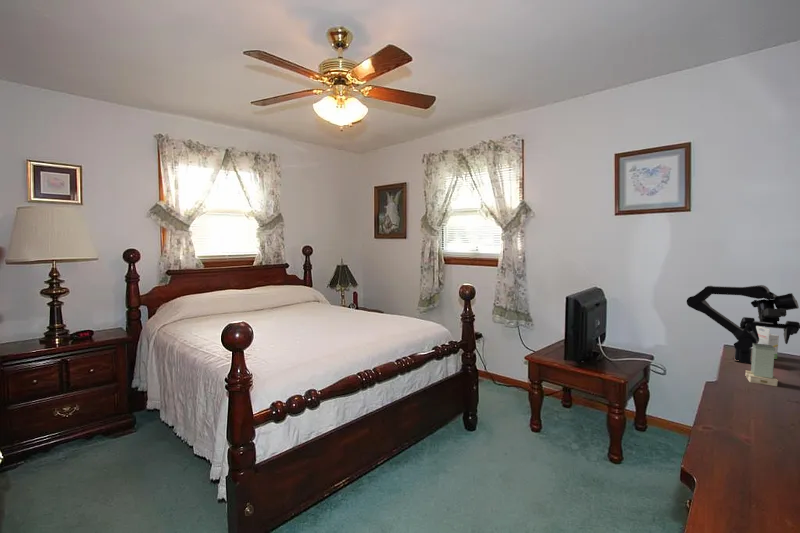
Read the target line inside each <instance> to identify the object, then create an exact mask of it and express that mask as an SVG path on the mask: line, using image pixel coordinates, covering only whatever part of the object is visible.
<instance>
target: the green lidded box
mask: <svg viewBox="0 0 800 533" xmlns="http://www.w3.org/2000/svg"><path fill="white" fill-rule="evenodd" d="M752 346H753V347H752V348H751V349H752V350H751V361H752V363H750V365H751V367H750V371H751V373H752V374H753V375H754V376H759V377H766V378H773V376H774V364H775V363H774V362H775V360H774V353H775V348H774V347H773V346H772V345H766V344H757V343H753V344H752Z"/></svg>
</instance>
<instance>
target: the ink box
mask: <svg viewBox="0 0 800 533" xmlns="http://www.w3.org/2000/svg"><path fill="white" fill-rule="evenodd" d="M756 329H757V333H758V336H759V342H758V343H757V344H766V345H772V346H773V347H774V348H775V353H774V359H777V360H778V350H779V341H780V340H779V338H780V335H778V334H773V333H771V329H770V328H769V327H762V326H756ZM761 329H762V330H761Z"/></svg>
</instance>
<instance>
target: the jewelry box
mask: <svg viewBox="0 0 800 533" xmlns="http://www.w3.org/2000/svg"><path fill="white" fill-rule="evenodd" d="M744 376H746V377H745V378H746V379H747V380H748V382H749V383H750V384H751V383H752V384H757V385H765V386H771V387H778V382H779V380H778V379H777V378H776V376H775V375H773V378H766V377H759V376H754V375H753V374H752V373H751V370H746V369H745V374H744Z"/></svg>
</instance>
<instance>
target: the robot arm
mask: <svg viewBox="0 0 800 533" xmlns="http://www.w3.org/2000/svg"><path fill="white" fill-rule="evenodd" d="M712 295H725V296H726V295H727V296H729V295H730V296H744V297H747V298H752V299H754V300H753V301H751V302H750V304H751V305H752V307H753V308H757V313H758V314H757V315H758V317H757V318H758V320H755V317H749V316H748V317H747V316H743V317H742V318H741V321H740V323H739V325H738V324H737V323H735V322H733V321H732V320H730V319H729V318H728V317H727V316H725V315H724V314H722V313H721V312H720V311H718V310H716V309H715V308H713V307H712V306H711V305H710V304H709V302H708V301H707V299H709V298H710V297H711V296H712ZM686 304H687V306H688V307H689V308H691V309H693V310H695V311H697V312H700V313H702V314H704V315H705V316H707V317H708V318H710V319H711V320H712V321H714V322H715V323H717V324H718V325H720V326H721V327H722V328H724V329H726V330H727V331H728V332H730V333H731V334H732V335H733V336H734V338H736V340H737V341H735V342H734V343H733V347H734V349H735V350H734V357H735V359H736V360H739V361H741V362H740V363H743V362H746V364H751V363H752V349H753V346H752V344H753V343H758V342H759V336H758V333H757V329H756V326H760V327H764V328H768V329H770V328H771V329H778V330H779V329H780V330H781V329H782V330H783V338H784V343H785V344H786V345H788V343H789V341H790V340H789V339H790V337H791V336H793V335H796V334H798V332H799V331H800V322H799V321H793V320H786V322H785V323H779V322H780V318H781V317H783V318H785V317H786V316H787V311H790V310H796V309H800V307H799V306H800V305H799V303H798V301H797V299H796V298H795V296H794V294H793V293H791V292H790V293H787V294H781V295H777V294H776V293H774V292H772V291H770V289H769V287H767V286H766V285H764V284H759V285H758V284H757V285H750V286H715V285H707V286H705V287H704V288H703V289H702V290H700V291H698V292H697V293H696V294H694V295H692V296H689V297H687V299H686Z"/></svg>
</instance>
